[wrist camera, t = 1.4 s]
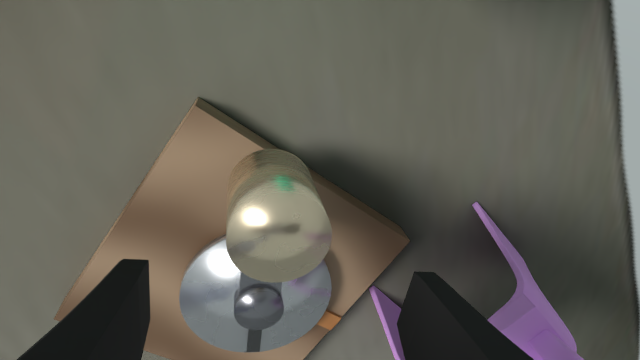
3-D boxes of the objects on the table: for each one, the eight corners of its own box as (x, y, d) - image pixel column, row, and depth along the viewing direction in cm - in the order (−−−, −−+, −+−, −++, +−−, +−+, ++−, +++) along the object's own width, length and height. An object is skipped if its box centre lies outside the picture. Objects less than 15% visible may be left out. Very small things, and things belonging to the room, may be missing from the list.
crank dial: (318, 340, 24) (340, 429, 19) (180, 347, 22) (166, 446, 17) (354, 143, 19) (395, 197, 14) (180, 131, 17) (160, 187, 12)
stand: (269, 373, 27) (271, 397, 25) (64, 298, 21) (52, 322, 20) (400, 226, 24) (411, 243, 22) (198, 97, 18) (195, 106, 17)
